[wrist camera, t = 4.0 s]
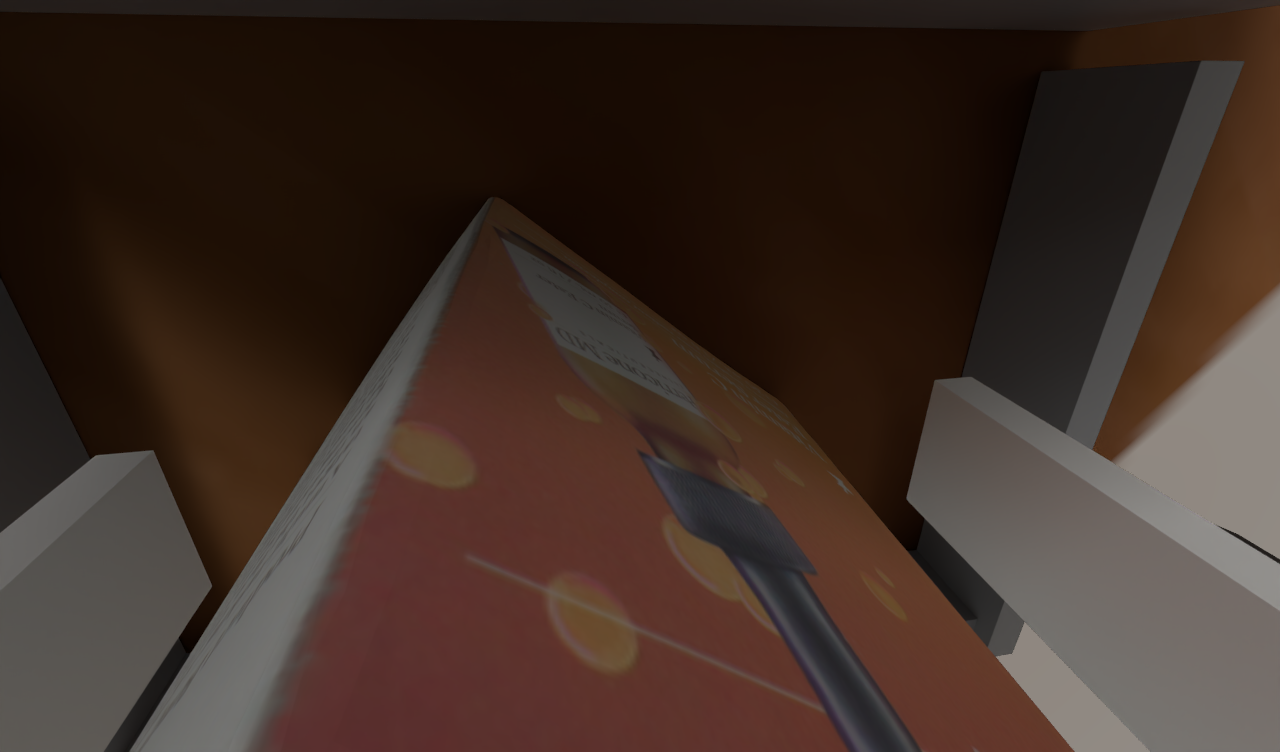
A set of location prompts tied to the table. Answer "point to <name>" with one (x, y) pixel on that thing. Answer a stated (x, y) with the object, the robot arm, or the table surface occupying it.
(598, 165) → the table surface
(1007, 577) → the robot arm
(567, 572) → the small box
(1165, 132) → the printer
